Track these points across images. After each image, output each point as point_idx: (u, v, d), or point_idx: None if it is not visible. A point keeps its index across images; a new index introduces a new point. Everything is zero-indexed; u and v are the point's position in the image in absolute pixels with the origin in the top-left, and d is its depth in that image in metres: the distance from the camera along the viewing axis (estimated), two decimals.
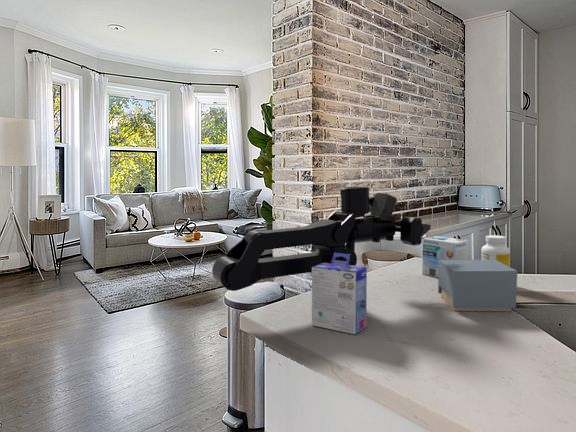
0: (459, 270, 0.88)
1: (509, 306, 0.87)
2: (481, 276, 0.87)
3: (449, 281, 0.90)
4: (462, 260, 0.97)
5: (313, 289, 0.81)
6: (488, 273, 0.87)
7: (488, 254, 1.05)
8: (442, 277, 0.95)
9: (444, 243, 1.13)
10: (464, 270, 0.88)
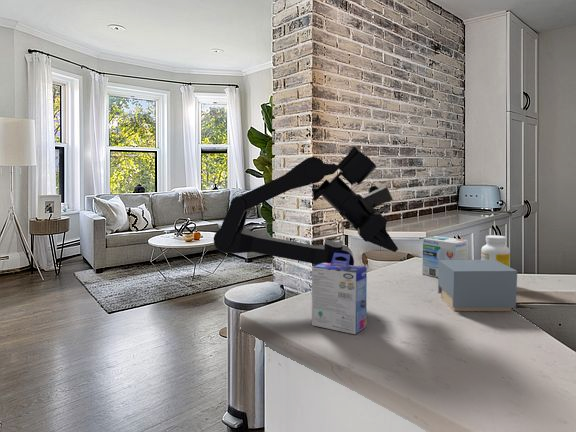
0: (459, 270, 0.88)
1: (509, 306, 0.87)
2: (481, 276, 0.87)
3: (449, 281, 0.90)
4: (462, 260, 0.97)
5: (313, 289, 0.81)
6: (488, 273, 0.87)
7: (488, 254, 1.05)
8: (442, 277, 0.95)
9: (444, 243, 1.13)
10: (464, 270, 0.88)
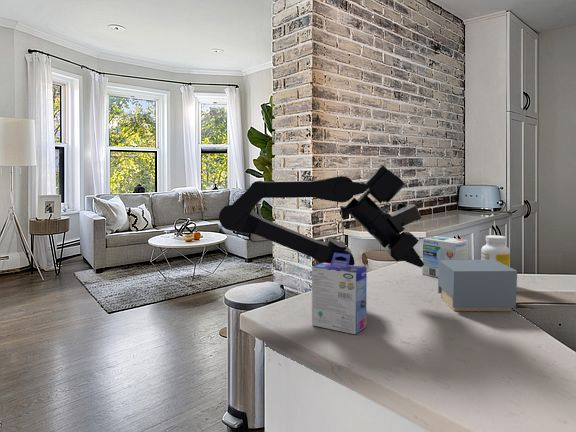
0: (459, 270, 0.88)
1: (509, 306, 0.87)
2: (481, 276, 0.87)
3: (449, 281, 0.90)
4: (462, 260, 0.97)
5: (313, 289, 0.81)
6: (488, 273, 0.87)
7: (488, 254, 1.05)
8: (442, 277, 0.95)
9: (444, 243, 1.13)
10: (464, 270, 0.88)
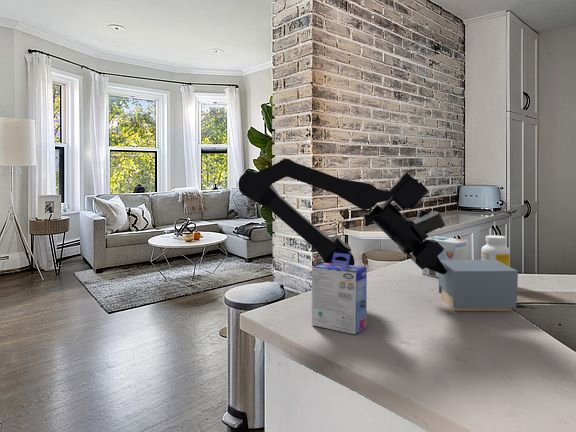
0: (460, 270, 0.88)
1: (510, 306, 0.87)
2: (482, 276, 0.87)
3: (450, 281, 0.90)
4: (463, 260, 0.97)
5: (313, 289, 0.81)
6: (489, 273, 0.87)
7: (488, 254, 1.05)
8: (443, 277, 0.95)
9: (444, 243, 1.13)
10: (465, 270, 0.88)
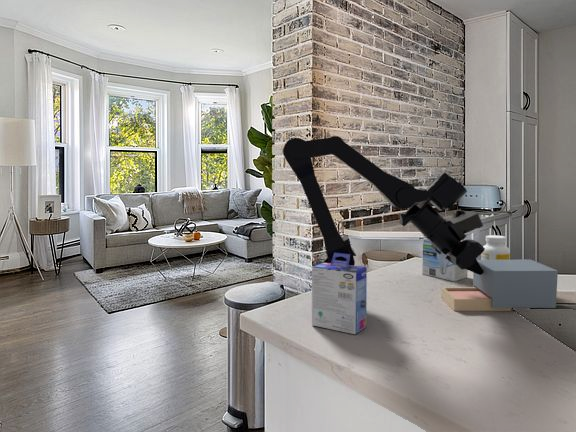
0: (498, 270, 0.87)
1: (549, 306, 0.87)
2: (521, 276, 0.86)
3: (487, 281, 0.89)
4: (498, 260, 0.96)
5: (313, 289, 0.81)
6: (528, 273, 0.86)
7: (488, 254, 1.05)
8: (478, 277, 0.94)
9: None
10: (504, 270, 0.87)
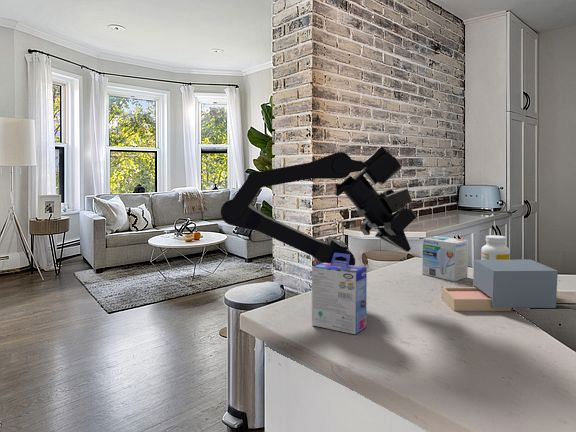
0: (498, 270, 0.87)
1: (549, 306, 0.87)
2: (521, 276, 0.86)
3: (487, 281, 0.89)
4: (498, 260, 0.96)
5: (313, 289, 0.81)
6: (528, 273, 0.86)
7: (488, 254, 1.05)
8: (478, 277, 0.94)
9: (444, 243, 1.13)
10: (504, 270, 0.87)
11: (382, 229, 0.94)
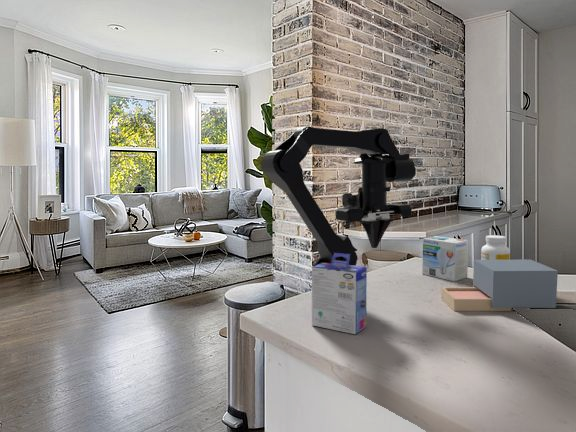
0: (498, 270, 0.87)
1: (549, 306, 0.87)
2: (521, 276, 0.86)
3: (487, 281, 0.89)
4: (498, 260, 0.96)
5: (313, 289, 0.81)
6: (528, 273, 0.86)
7: (488, 254, 1.05)
8: (478, 277, 0.94)
9: (444, 243, 1.13)
10: (504, 270, 0.87)
11: None
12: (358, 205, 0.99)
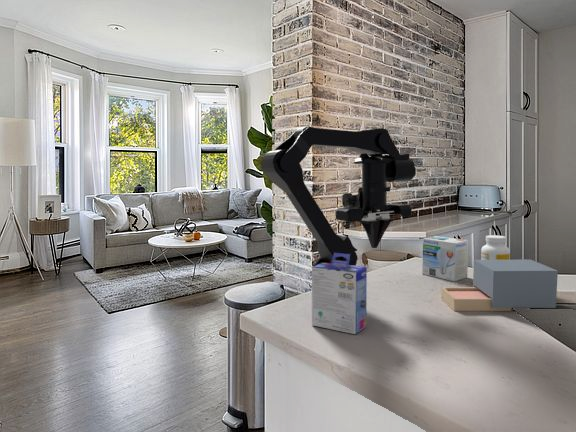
0: (498, 270, 0.87)
1: (549, 306, 0.87)
2: (521, 276, 0.86)
3: (487, 281, 0.89)
4: (498, 260, 0.96)
5: (313, 289, 0.81)
6: (528, 273, 0.86)
7: (488, 254, 1.05)
8: (478, 277, 0.94)
9: (444, 243, 1.13)
10: (504, 270, 0.87)
11: None
12: (358, 205, 0.99)
